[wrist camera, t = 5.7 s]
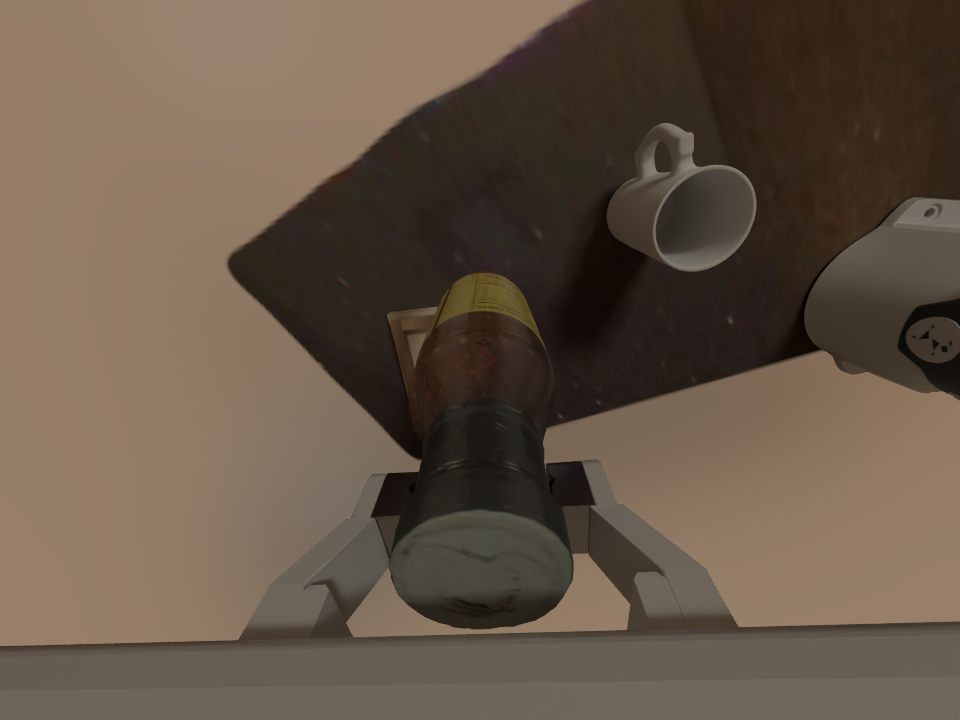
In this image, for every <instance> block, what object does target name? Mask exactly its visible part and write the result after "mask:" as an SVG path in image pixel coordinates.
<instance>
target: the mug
mask: <svg viewBox="0 0 960 720" xmlns="http://www.w3.org/2000/svg"><path fill="white" fill-rule="evenodd" d="M659 141H663V142H664V143H665V144H666V145H667V147H668V148H669V151H670V154H671V159H672V169H671V172H667V173H659V172H657V171H656V169H655V163H654V153H655V148H656V145H657V143H658V142H659ZM693 150H694V135H693V133H687V132H685V131H683V130H682V129H680V128H679V127H677V126H675V125H672V124H669V123H663V124H660V125H657V126H656V127H654V128H653V129H651V130H650V131H649V133H648V134H647V135H646V136H645V138H644V140H643V141H642V143H641V144H640V146H639V148H638V149H637V151H636V153H635V164H636V172H637V175H636V178H633V179H631V180H629V181H627V182H626V183H624V184H623V185H622V186H621V187H620V188H619V189H618V190H617V191H616V192H615V193H614V195H613V196H612V198H611V200H610V203H609V205H608V209H607V224H608V227H609V230H610V232H611V233H612V235H613V236H614V237H615V238H616V239H618V240H619V241H621V242H623V243H625V244H626V245H628V246H630V247H632V248H634V249H636V250H638V251H640V252H642V253H644V254H646V255H648V256H650V257H652V258H654V259H656V260H658V261H660V262H662V263H664V264H667V265H669V266H671V267H673V268H675V269H678V270H682V271H691V272H692V271H701V270H705V269H709V268H711V267H713V266H715V265H717V264H719V263H721V262H722V261H724V260H725V259H727V258H728V257H729V256H730V255H732V254H733V253H734V252H735V251H736V250H737V249H738V248H739V246H740V245H741V244H742V243H743V241H744V240H745V238H746V237H747V235H748V233H749V231H750V229H751V227H752V224H753V221H754V218H755V213H756V196H755V192H754V189H753V186H752V184H751V182H750V181H749V180H748V178H747V177H746V176H745V175H744V174H743V173H741V172H740V171H738V170H737V169H735V168H732V167H729V166H724V165H711V166H706V167H697V166H695V165H694V163H693V160H692V152H693Z"/></svg>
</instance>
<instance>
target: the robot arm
mask: <svg viewBox="0 0 960 720" xmlns="http://www.w3.org/2000/svg"><path fill="white" fill-rule="evenodd" d="M925 212H926V213H925ZM804 324H805V328H806V332H807V334H808V336H809V338H810V339H811V341H812V342H813V343H814V344H815V345H816V346H818V347H819V348H821V349H822V350H824V351H826V352H828V353H829V354H831V355H832V356H833V358H834V360H835V363H836V365H837V367H838V368H839V369H840V370H842V371H844V372H846V373H849V374H859V373H863V372H869V373H872V374H874V375H877V376H879V377H882V378H884V379H887V380H889V381H892V382H894V383H897V384H899V385H902V386H904V387H907V388H910V389H912V390H915V391H918V392H922V393H930V392H938V391H943V392H946V393H948V394H950V395H952V396H954V398H956V399H958V400H960V200H948V199H934V198H921V197H915V198H911V199H908V200H906V201H905V202H903V203H902V204H901V205H900V206H898V207H897V208H896V209H895V210H894V211H893V212H892V213H891V214H890V215H889V216H888V217H887V218H886V220H885V221H884V222H883V223H882V224H881V225H880V226H879V227H878V228H876V229H875V230H874V231H872V232H871V233H869V234H868V235H866V236H864V237H863V238H861V239H860V240H858V241H856V242H855V243H853V244H852V245H851V246H849V247H848V248H847V249H845V250H844V251H843V252H842V253H840V254H839V255H838V256H837V257H836V258H835V259H834V260H833V261H832V262H831V263H830V264H829V265H828V266H827V267H826V269H825V270H824V271H823V272H822V274H821V275H820V276H819V278H818V279H817V281H816V283H815V284H814V286H813V288H812V290H811V292H810V294H809V297H808V299H807V303H806V306H805V312H804ZM418 473H419V472H406V473H388V474H372V475H371V476H370V477H369V479H368V481H367V483H366V485H365V488H364V490H363V492H362V495H361V497H360V499H359V502H358V504H357V506H356V509H355V511H354V513H353V515H352V518H351V519H346V520H345V521H344V522H342V523H341V524H340V525H339V526H338V527H337V528H335V529H334V530H333V531H332V532H331V533H330V534H328V535H327V536H326V537H325V538H324V539H323V540H321V541H320V542H319V543H318V544H317V545H316V546H314V547H313V548H312V549H311V550H310V551H309V552H307V553H306V554H305V555H304V556H303V557H302V558H300V559H299V560H298V561H297V562H296V563H295V564H294V565H292V566H291V567H290V568H289V569H288V570H286V571H285V572H284V573H283V574H282V575H281V576H279V577H278V578H277V579H276V580H275V581H274V582H272V583H271V584H270V585H269V587H268V589H267V590H266V592H265V594H264V596H263V597H262V599H261V601H260V603H259V604H258V606H257V608H256V610H255V612H254V613H253V615H252V617H251V619H250V620H249V622H248V624H247V626H246V627H245V629H244V631H243V633H242V634H241V636H240V638H239V640H234V641H195V642H154V643H114V644H76V645H35V646H0V720H960V622H925V623H888V624H887V623H886V624H848V625H812V626H811V625H809V626H774V627H773V626H770V627H738V625H737V624H736V622H735V620H734V618H733V616H732V615H731V613H730V611H729V609H728V607H727V606H726V604H725V602H724V601H723V599H722V597H721V595H720V593H719V591H718V590H717V588H716V586H715V585H714V583H713V581H712V579H711V578H710V576H709V574H708V572H707V570H706V568H704V567H703V566H702V565H700V564H699V563H698V562H696V561H695V560H694V559H693V558H691V557H690V556H689V555H688V554H686V553H685V552H684V551H682V550H681V549H680V548H679V547H677V546H676V545H675V544H673V543H672V542H671V541H669V540H668V539H667V538H666V537H664V536H663V535H662V534H660V533H659V532H658V531H657V530H655V529H654V528H653V527H651V526H650V525H649V524H648V523H646V522H645V521H644V520H642V519H641V518H640V517H639V516H637V515H636V514H635V513H633V512H632V511H630V509H628V508H627V507H626V506H624V505H623V504H617V503H616V500H615V498H614V495H613V493H612V490H611V488H610V485H609V483H608V480H607V478H606V475H605V473H604V470H603V468H602V465H601V463H600V461H599V460H586V461H574V462H561V463H547V464H546V474H547V477H548V482H549V486H550V491H551V494H552V495H553V496H554V497H555V499H556V501H557V502H558V504H559V505H560V507H561V509H562V511H563V513H564V515H565V519H566V525H567V530H568V537H569V540H570V547H571V552H572V554H582V553H589V556H590V557H591V558H592V559H593V561H594V562H595V563H596V564H597V565H598V567H599V568H600V569H601V570H602V571H603V572H604V573H605V575H606V576H607V577H608V578H609V580H610V581H611V582H612V583H613V584H614V585H615V587H616V588H617V589H618V590H619V591H620V592H621V594H622V595H623V596H624V597H625V598H626V599H627V601H628V602H629V603H630V612H629V619H628V627H627V630H618V631H617V630H616V631H579V632H543V633H542V632H540V633H505V634H466V635H427V636H391V637H353V636H352V634H351V632H350V630H349V628H348V626H347V624H346V622H347V621H348V619H349V618H350V617H351V615H352V614H353V613H354V611H355V610H356V609H357V608H358V606H359V605H360V604H361V602H362V601H363V600H364V598H365V597H366V596H367V594H368V593H369V592H370V591H371V589H372V588H373V587H374V586H375V584H376V583H377V582H378V580H379V579H380V578H381V576H382V575H383V574H384V572H385V571H386V570H387V569H388V567H389V559H390V555H391V550H392V545H393V541H394V536H395V530H396V528H397V526H398V523H399V518H400V516H401V513H402V510H403V508H404V506H405V503H406V502H407V500H408V499H409V498H410V496H411V495H412V493H413V492H414V489H415V483H416V480H417V477H418Z"/></svg>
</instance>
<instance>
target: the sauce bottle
mask: <svg viewBox="0 0 960 720" xmlns="http://www.w3.org/2000/svg"><path fill="white" fill-rule="evenodd" d="M554 399H555V377H554V372H553V368H552V364H551V361H550V359H549V356H548V353H547V351H546V349H545V346H544V344H543V342H542V339H541V337H540V335H539V332H538V329H537V326H536V324H535V322H534V319H533V317H532V314H531V312H530V310H529V307H528V305H527V302H526V300H525V298H524V296H523V294H522V293H521V291H520V290H519V289H518V288H517V287H516V286H515V285H514V284H513V283H512V282H511V281H509V280H508V279H506V278H505V277H502V276H500V275H497V274H493V273H490V272H486V271H479V272H477V273H472V274H469V275H467V276H465V277H463V278H461V279H459V280H458V281H456V282H455V283H453V284H452V285H451V286H450V288H449V289H448V290H447V291H446V293H445V294H444V296H443V298H442V300H441V302H440V304H439V306H438V308H437V311H436V313H435V315H434V318H433V320H432V323H431V325H430V327H429V329H428V332H427V334H426V336H425V339H424V341H423V344H422V346H421V348H420V351H419V353H418V357H417V360H416V366H415V369H414V372H413V374H412V376H411V380H410V383H409V388H408V410H409V413H410V416H411V419H412V425H413V428H414V433H415V434H416V435H417V436H418V438H419V439H420V440H421V441H422V443H423V445H422V462H421V465H420V470H419V473H418V477H417V480H416V483H415V489H414V492H413V493H412V495H411V496H410V498H409V499H408V500H407V502H406V503H405V506H404V508H403V510H402V513H401V516H400V518H399V523H398V526H397V528H396V530H395V536H394V541H393V545H392V550H391V555H390V559H389V570H390V571H391V579H392V582H393V584H394V587H395V589H396V591H397V593H398V595H399V596H400V597H401V598H402V599H403V600H404V601H405V603H407V604H408V605H409V606H410V607H411V608H413V609H414V610H415V611H417V612H418V613H420V614H421V615H423V616H424V617H426V618H428V619H431V620H433V621H436V622H438V623H442V624H447V625H450V626H452V627H456V628H470V629H491V628H497V627H513V626H517V625H520V624H523V623H528V622H531V621H535V620H537V619H539V618H540V617H542V616H544V615H546V614H547V613H548V612H549V611H551V610H552V609H554V608H555V607H556V606H557V604H559V602H560V601H561V599H562V598H563V596H564V594H565V593H566V591H567V589H568V588H569V586H570V584H571V582H572V580H573V557H572V552H571V547H570V540H569V537H568V530H567V525H566V519H565V515H564V513H563V511H562V509H561V507H560V505H559V504H558V502H557V501H556V499H555V497H554V496H553V495H552V494H551V491H550V486H549V482H548V477H547V475H546V471H545V464H544V448H543V439H544V435H545V432H546V428H547V424H548V421H549V417H550V413H551V411H552V408H553V404H554Z"/></svg>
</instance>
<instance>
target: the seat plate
mask: <svg viewBox="0 0 960 720" xmlns="http://www.w3.org/2000/svg"><path fill="white" fill-rule="evenodd" d="M437 308H438V307H431V308H423V309H414V310H405V311H396V312H389V313H388V315H387V317H388V320H389V324H390V328H391V332H392V336H393V340H394V344H395V348H396V352H397V356H398V359H399V363H400V367H401V371H402V375H403V379H404V383H405V387H406V391H407V395H408V388H409V383H410V380H411V376H412V374H413V372H414V369H415V366H416V360H417V357H418V353H419V351H420V348H421V346H422V344H423V341H424V339H425V336H426V334H427V332H428V329H429V327H430V325H431V323H432V320H433V318H434V315H435V313H436V311H437Z"/></svg>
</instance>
